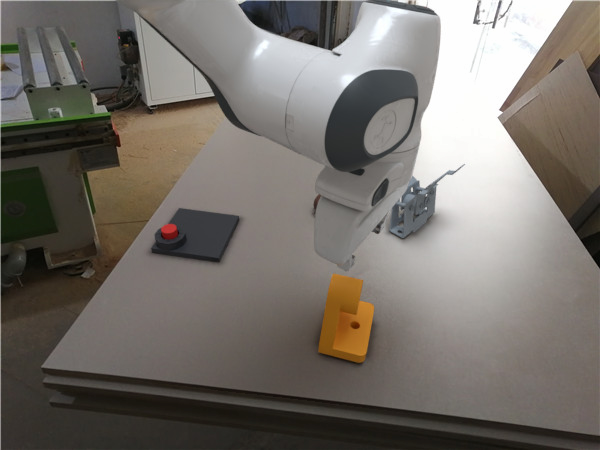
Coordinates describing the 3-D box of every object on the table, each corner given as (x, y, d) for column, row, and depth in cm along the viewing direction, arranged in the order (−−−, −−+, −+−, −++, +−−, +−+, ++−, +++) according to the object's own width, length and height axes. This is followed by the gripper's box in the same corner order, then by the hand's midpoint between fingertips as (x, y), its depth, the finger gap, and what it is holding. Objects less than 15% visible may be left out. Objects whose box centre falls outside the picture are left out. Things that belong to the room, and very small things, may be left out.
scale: (219, 262, 79) (217, 251, 78) (152, 252, 81) (149, 241, 79) (239, 219, 90) (238, 209, 88) (179, 212, 92) (177, 201, 90)
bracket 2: (417, 247, 85) (433, 187, 75) (378, 226, 90) (389, 167, 81) (446, 221, 92) (465, 164, 83) (409, 203, 97) (423, 147, 88)
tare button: (174, 240, 80) (172, 234, 79) (159, 238, 80) (158, 232, 79) (180, 231, 82) (179, 224, 81) (166, 229, 83) (164, 222, 82)
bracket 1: (363, 367, 62) (374, 317, 55) (317, 355, 64) (323, 304, 56) (372, 314, 70) (384, 264, 63) (332, 304, 72) (338, 255, 64)
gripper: (388, 120, 55) (373, 204, 63) (306, 187, 41) (301, 281, 50) (433, 133, 52) (411, 218, 61) (361, 208, 39) (346, 304, 47)
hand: (361, 247), depth 55 cm, fingers open, 8 cm apart
